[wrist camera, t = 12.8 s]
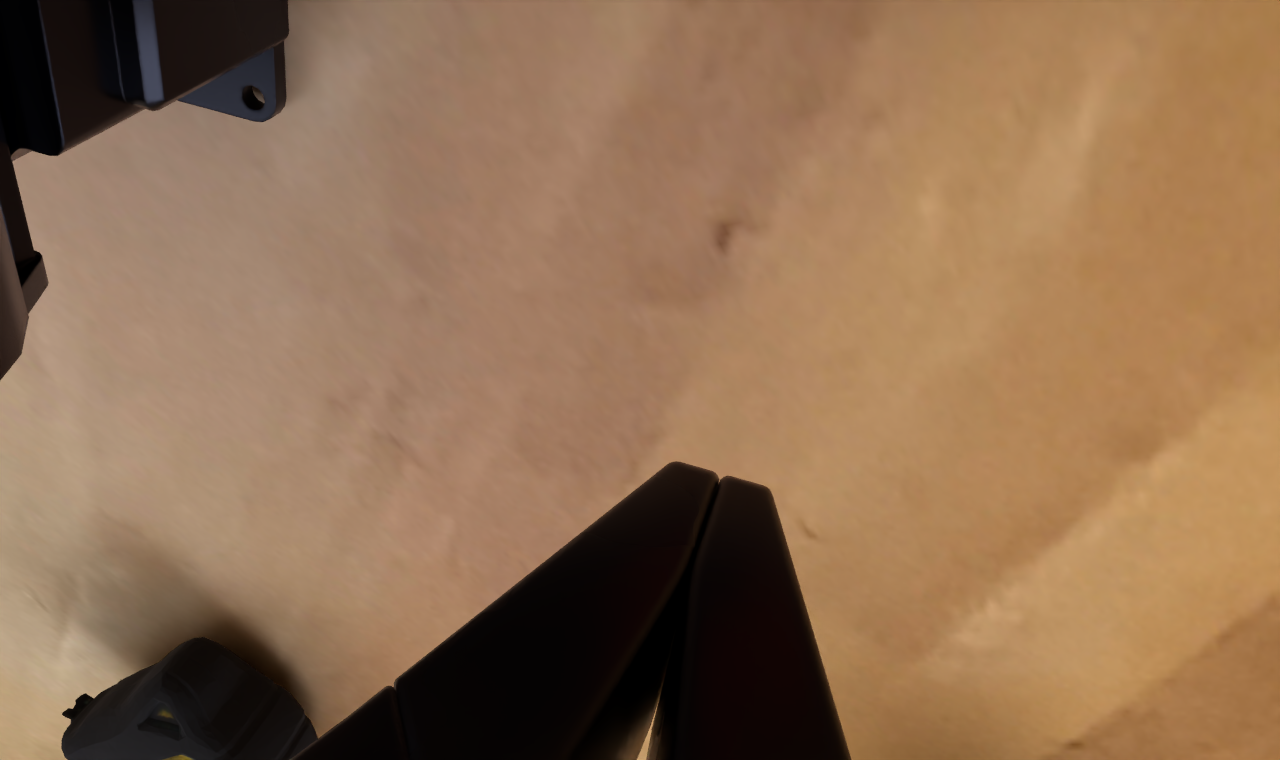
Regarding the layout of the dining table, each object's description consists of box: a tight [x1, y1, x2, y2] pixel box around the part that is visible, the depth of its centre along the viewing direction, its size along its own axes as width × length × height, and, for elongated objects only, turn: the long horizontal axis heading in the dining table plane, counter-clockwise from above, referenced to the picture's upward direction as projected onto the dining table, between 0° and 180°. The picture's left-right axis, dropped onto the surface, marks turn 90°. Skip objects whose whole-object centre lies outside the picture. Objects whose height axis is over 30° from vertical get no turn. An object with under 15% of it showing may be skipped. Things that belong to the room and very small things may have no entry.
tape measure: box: [62, 637, 318, 760], centre depth 33 cm, size 7×7×4 cm
